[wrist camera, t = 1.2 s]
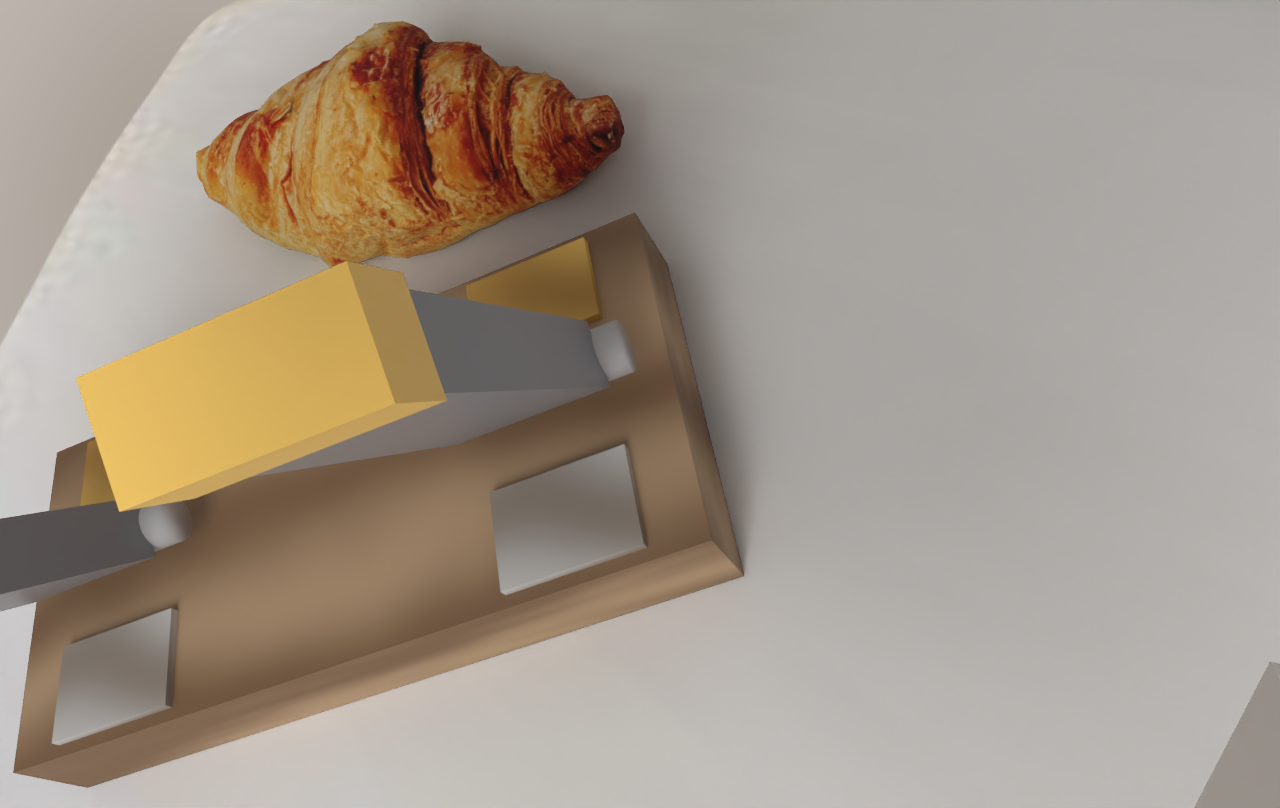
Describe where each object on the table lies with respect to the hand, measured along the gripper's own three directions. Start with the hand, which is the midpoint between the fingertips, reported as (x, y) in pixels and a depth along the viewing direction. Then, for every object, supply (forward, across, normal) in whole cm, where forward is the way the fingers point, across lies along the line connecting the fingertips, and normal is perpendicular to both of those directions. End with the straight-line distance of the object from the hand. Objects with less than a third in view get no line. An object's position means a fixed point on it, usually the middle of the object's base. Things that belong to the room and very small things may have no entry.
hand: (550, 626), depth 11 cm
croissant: (+34, -13, -7) cm, 37 cm away
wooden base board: (+21, -10, -15) cm, 28 cm away
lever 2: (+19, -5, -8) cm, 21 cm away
